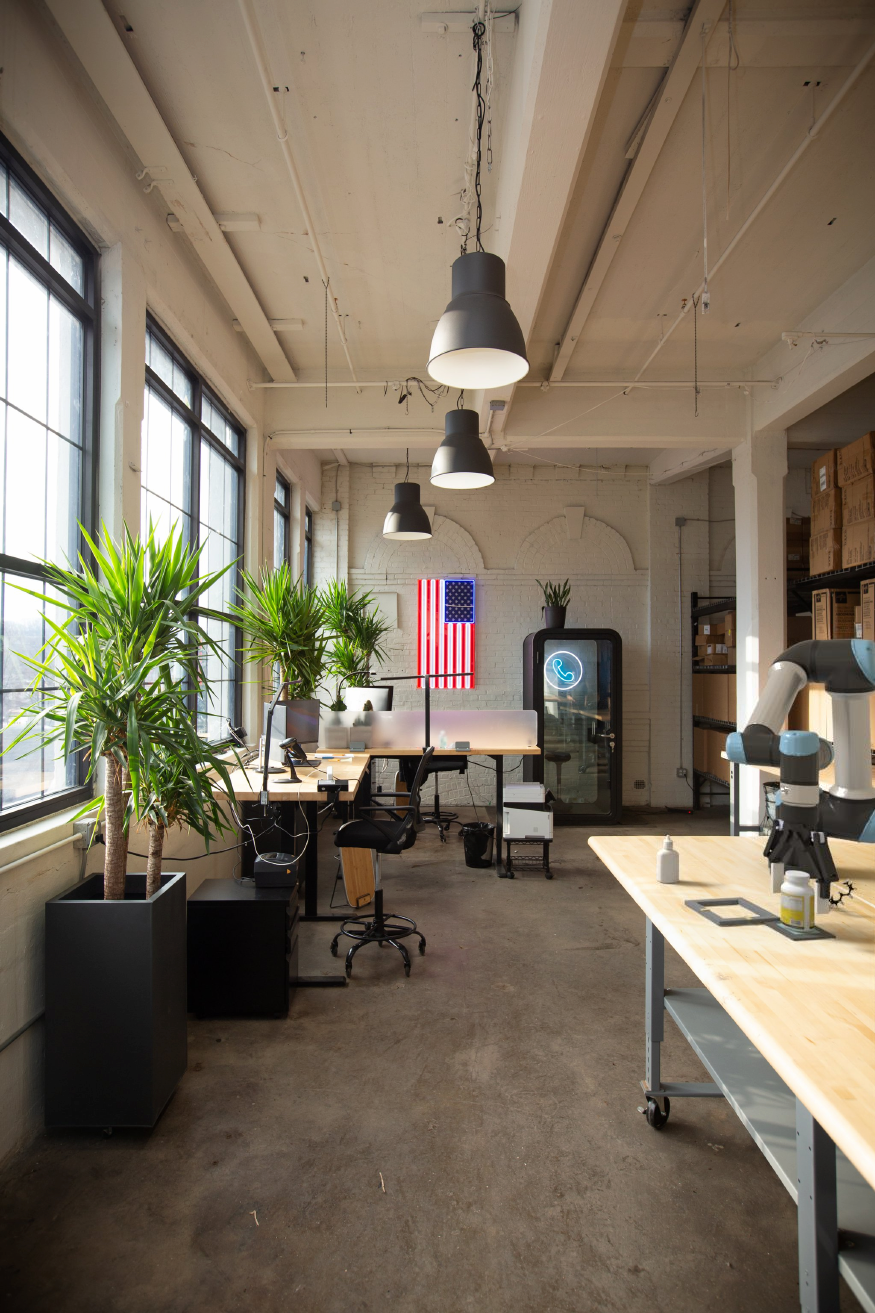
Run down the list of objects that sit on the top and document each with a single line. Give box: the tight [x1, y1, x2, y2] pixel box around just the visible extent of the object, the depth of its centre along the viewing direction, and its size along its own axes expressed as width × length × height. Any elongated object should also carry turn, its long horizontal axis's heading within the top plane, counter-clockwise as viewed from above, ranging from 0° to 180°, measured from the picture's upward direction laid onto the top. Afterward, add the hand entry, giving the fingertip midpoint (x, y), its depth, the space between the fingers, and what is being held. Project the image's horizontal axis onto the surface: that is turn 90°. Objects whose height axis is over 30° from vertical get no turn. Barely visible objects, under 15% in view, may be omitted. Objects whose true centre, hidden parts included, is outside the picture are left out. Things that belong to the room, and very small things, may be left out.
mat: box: [761, 920, 837, 942], centre depth 151 cm, size 10×10×1 cm
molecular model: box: [829, 878, 858, 909], centre depth 167 cm, size 6×15×8 cm, turn 27°
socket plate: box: [684, 896, 781, 927], centre depth 161 cm, size 15×14×1 cm
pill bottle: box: [780, 870, 816, 932], centre depth 152 cm, size 6×6×12 cm
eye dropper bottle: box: [656, 834, 680, 884], centre depth 185 cm, size 4×6×12 cm
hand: (798, 902), depth 151 cm, fingers open, 13 cm apart
